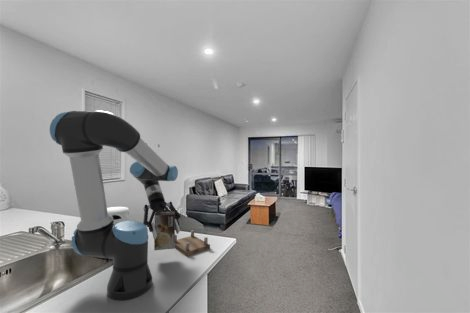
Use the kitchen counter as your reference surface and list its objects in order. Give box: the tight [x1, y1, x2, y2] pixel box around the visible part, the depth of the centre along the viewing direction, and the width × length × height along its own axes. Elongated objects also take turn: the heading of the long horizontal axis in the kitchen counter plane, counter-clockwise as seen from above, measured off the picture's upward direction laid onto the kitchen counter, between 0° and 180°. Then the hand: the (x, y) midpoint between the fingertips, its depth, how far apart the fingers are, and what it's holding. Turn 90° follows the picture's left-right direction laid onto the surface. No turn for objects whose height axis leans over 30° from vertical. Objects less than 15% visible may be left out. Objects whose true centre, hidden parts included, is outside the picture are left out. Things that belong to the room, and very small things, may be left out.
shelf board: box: [175, 230, 211, 257], centre depth 118 cm, size 14×17×6 cm
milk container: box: [107, 206, 130, 225], centre depth 122 cm, size 17×17×18 cm
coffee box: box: [153, 210, 176, 251], centre depth 103 cm, size 9×6×16 cm
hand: (167, 234), depth 101 cm, fingers closed on coffee box, 10 cm apart
